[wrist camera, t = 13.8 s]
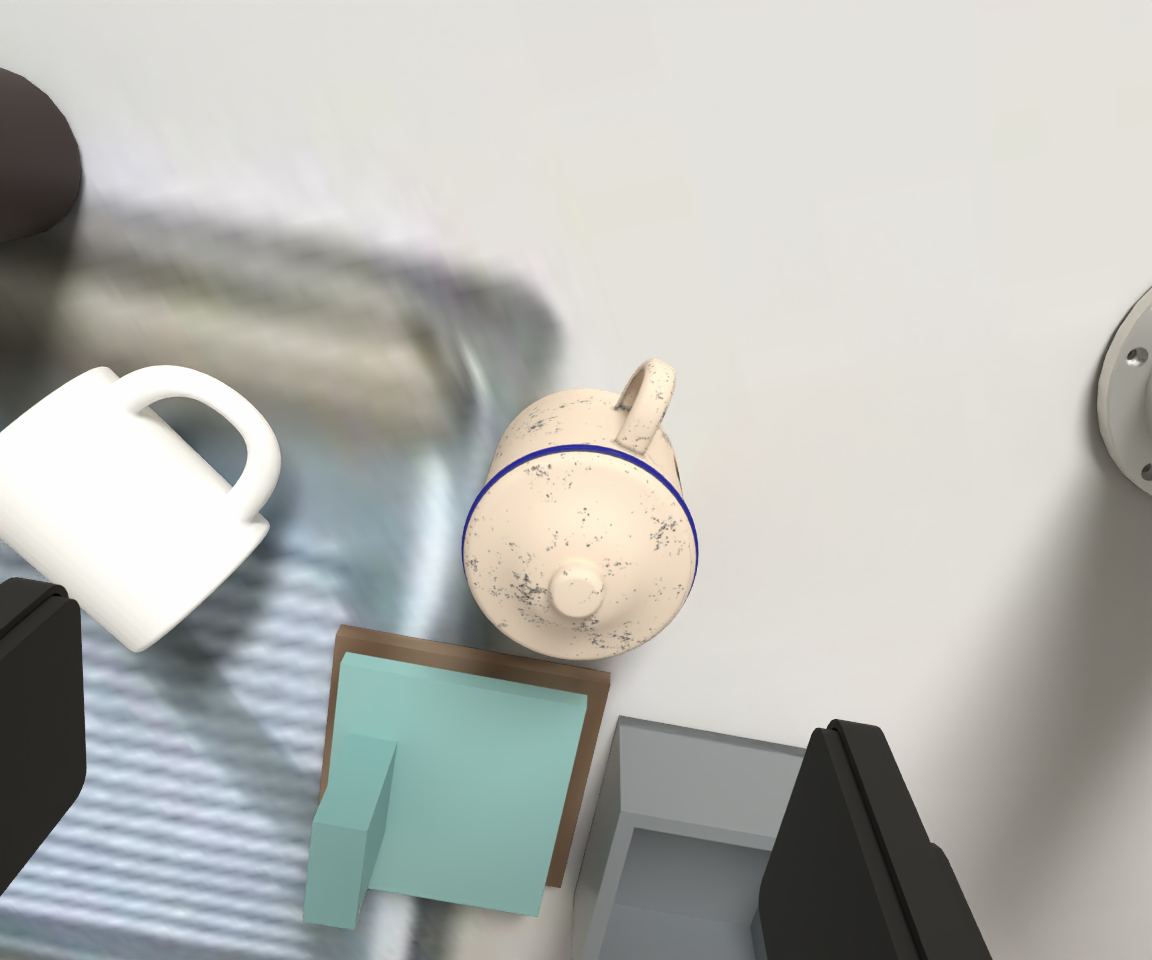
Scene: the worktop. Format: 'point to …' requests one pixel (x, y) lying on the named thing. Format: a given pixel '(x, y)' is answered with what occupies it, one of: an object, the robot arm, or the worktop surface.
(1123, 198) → the worktop surface
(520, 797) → the lid
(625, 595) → the teacup with lid
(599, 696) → the board
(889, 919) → the robot arm
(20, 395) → the worktop surface
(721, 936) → the tub
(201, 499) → the mug
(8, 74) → the bottle
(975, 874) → the worktop surface
